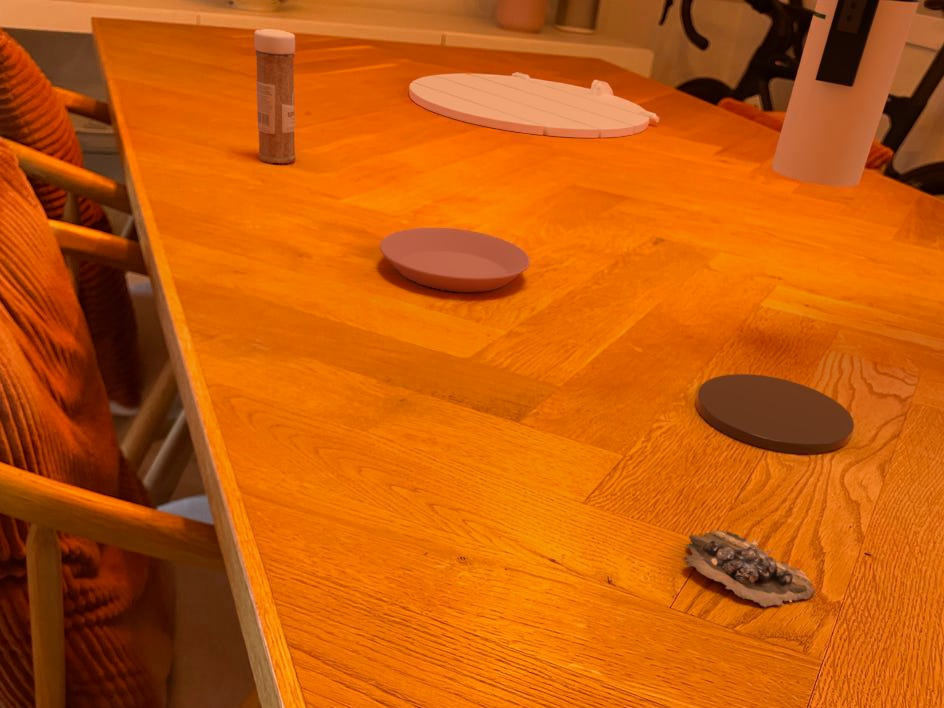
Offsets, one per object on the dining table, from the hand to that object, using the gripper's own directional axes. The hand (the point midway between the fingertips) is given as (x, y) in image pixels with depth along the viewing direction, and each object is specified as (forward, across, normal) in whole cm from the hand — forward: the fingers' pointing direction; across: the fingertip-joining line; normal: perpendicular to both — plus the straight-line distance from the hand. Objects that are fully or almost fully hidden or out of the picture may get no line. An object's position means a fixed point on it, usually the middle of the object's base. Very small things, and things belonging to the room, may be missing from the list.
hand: (844, 76), depth 77 cm
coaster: (+21, +16, +5) cm, 27 cm away
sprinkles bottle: (+21, -14, -65) cm, 69 cm away
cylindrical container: (+7, 0, 0) cm, 7 cm away
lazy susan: (+21, -74, -59) cm, 97 cm away
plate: (+21, +6, -29) cm, 37 cm away
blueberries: (+21, +39, +9) cm, 45 cm away
